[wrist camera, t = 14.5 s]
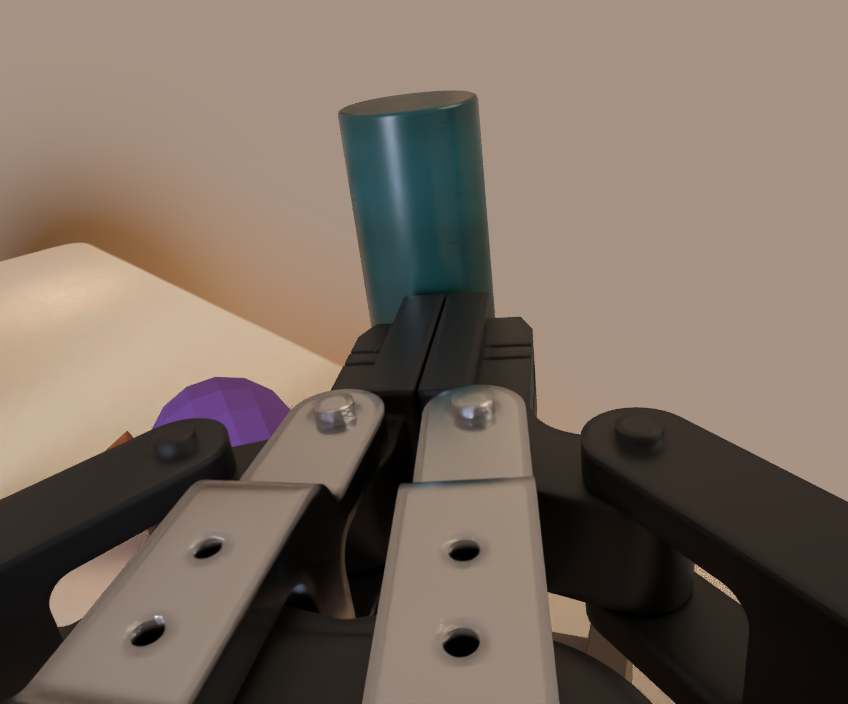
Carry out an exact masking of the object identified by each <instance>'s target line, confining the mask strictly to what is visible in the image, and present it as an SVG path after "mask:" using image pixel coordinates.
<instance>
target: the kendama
mask: <svg viewBox="0 0 848 704" xmlns="http://www.w3.org/2000/svg"><path fill="white" fill-rule="evenodd" d="M290 411H291V410H290V409H289V408H288V407H287V406H286V405H285V403H284V402H283V401H282V400H281V399H280V398H279V397H278V396H277V395H276V394H275V393H274V392H273V391H272V390H270V389H268V388H266V387H263V386H261V385H259V384H257V383H254V382H252V381H250V380H248V379H245V378H227V377H214V378H211V379H208V380H205V381H202V382H199V383H197V384H194V385H191V386H188V387H186V388H185V389H184V390H183V391H181V392H180V393H179V394H178V395H177V396H176V397H174V398H173V399H172V400H171V401H170V402H169V403H167V404H166V405H165V406H164V407H163V409H162V411H161V413H160V415H159V417H158V419H157V420H156V422H155V424H154V426H153V428H152V429H154V428H157V427H159V426H162V425H164V424H167V423H170V422H174V421H178V420H184V419H191V418H208V419H213V420H217V421H219V422H221V423H222V424H224V425H225V426H226V428H227V430H228V434H229V438H230V441H231V445H232V447H234V446H239V445H244V444H249V443H253V442H258V441H263V440H268V439H270V437H271V436H272V435H273V433H274V432H275V431H276V429H277V428H278V427H279V425H280V424H281V422H282V421H283V420H284V418H285V417H286V416H287V414H288V413H289V412H290ZM131 439H133V437H132V435H131V434H130V433H129V432H128V431H126V432H125V433H124V434H123V435H122V436H121V437H120V438H119V439H118V440H117V441H116V442H114V443H113V444H112V445H111V446H110V447H109V448H108V449H107V450H109V449H111V448H113V447H116V446H118V445H120V444H122V443H124V442H126V441H129V440H131ZM107 450H106V451H107ZM145 531H148V529H147V530H145Z"/></svg>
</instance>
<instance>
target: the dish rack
mask: <svg viewBox="0 0 848 704" xmlns="http://www.w3.org/2000/svg"><path fill="white" fill-rule="evenodd" d="M338 118H339V124H340V131H341V137H342V143H343V150H344V156H345V163H346V169H347V174H348V182H349V188H350V194H351V200H352V207H353V213H354V220H355V225H356V232H357V239H358V245H359V251H360V257H361V264H362V270H363V276H364V283H365V289H366V296H367V302H368V308H369V315H370V321H371V327H373V326H375V325H376V324H388V323H393V321H394V318H395V316H396V314H397V312H398V310H399V307H400V305H401V303H402V301H403V298H404V297H405V296H417V295H435V294H446V295H447V296H448V294H451V293H469V292H487V291H490V294H491V299H492V307H493V318H495V310H494V297H493V284H492V271H491V260H490V246H489V233H488V221H487V208H486V196H485V183H484V170H483V158H482V145H481V132H480V119H479V107H478V98H477V96H476V94H474V93H471V92H467V91H433V92H421V93H411V94H404V95H396V96H389V97H383V98H378V99H372V100H368V101H363V102H359V103H355V104H353V105H349V106H347V107H344V108H343V109H341V110H340V111H339V113H338ZM552 639H553V640H554V641H557V642H560V643H563V644H565V645H568V646H571V647H574V648H576V649H578V650H580V651H582V652H584V653H586V654H588V655H590V656H592V657H594V658H596V659H597V660H599V661H601V662H602V663H604V664H605V665H607V666H609V667H610V668H612V669H613V670H615V671H616V672H617V673H619V674H620V675H621V676H622V677H624V678H625V679H626V680H627V681H629V682H630V683H631V684H632V677H633V664H632V663H631V662H630V661H629V660H628V659H627V658H626V657H625V656H624V655H623V654H622V653H620V652H619V651H618V650H617V649H616V648H615V647H614V646H613V645H612V644H611V643H610V642H608V641H607V640H606V639H605V638H604V637H603V636H602V635H601V634H600V633H599V632H598V631H597V630H596V629H595V628H594V627H593V625H592V624H591V625H590V630H589V635H588V638H584V637H578V636H573V635H567V634H561V633H555V632H552Z"/></svg>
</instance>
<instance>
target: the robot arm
mask: <svg viewBox="0 0 848 704" xmlns="http://www.w3.org/2000/svg"><path fill="white" fill-rule="evenodd" d="M147 529H148V531H149V534H150V536H149V538H148V539H147V540H146V541H145V543H144V544H143V545H142V546H141V547H140V549H139V550H138V551H137V552H136V554H135V555H134V556H133V557H132V558H131V560H130V561H129V562H128V563H127V565H126V566H125V567H124V568H123V569H122V571H121V572H120V573H119V574H118V576H117V577H116V578H115V579H114V580H113V582H112V583H111V584H110V585H109V586H108V588H107V589H106V590H105V591H104V593H103V594H102V595H101V596H100V597H99V599H98V600H97V601H96V602H95V604H94V605H93V606H92V607H91V608H90V610H89V611H88V612H87V613H86V615H85V616H84V617H83V618H82V619H80V620H78V621H77V622H75V623H73V624H71V625H68V626H64V627H57V625H56V622H55V620H54V618H53V616H52V613H51V611H50V607H49V600H50V596H51V593H52V590H53V589H54V587H55V585H56V584H57V583H58V581H59V580H60V579H61V578H62V577H63V576H65V575H66V574H67V573H69V572H70V571H72V570H74V569H76V568H77V567H79V566H81V565H83V564H85V563H87V562H88V561H90V560H92V559H94V558H96V557H98V556H99V555H101V554H103V553H105V552H107V551H108V550H110V549H112V548H114V547H116V546H118V545H119V544H121V543H123V542H125V541H127V540H129V539H130V538H132V537H134V536H136V535H138V534H140V533H141V532H143V531H145V530H147ZM694 564H696V565H698V566H699V567H701V568H702V569H704V570H705V571H706V572H708V573H709V574H711V575H712V576H714V577H715V578H716V579H718V580H719V581H721V582H722V583H723V584H724V585H726V586H727V587H728V588H729V589H730V590H731V591H732V592H733V594H734V595H735V596H736V597H737V599H738V600H739V602H740V603H741V605H740V604H739V603H738V602H736V601H735V600H733V599H732V598H731V597H729V596H728V595H726V594H725V593H724V592H722V591H721V590H719V589H718V588H717V587H715V586H714V585H712V584H711V583H710V582H708V581H707V580H705V579H704V578H703V577H701V576H700V575H698V574H697V573H696V572H694ZM547 592H550V593H553V594H557V595H561V596H564V597H568V598H571V599H575V600H579V601H582V602H586V613H587V616H588V619H589V621H590V622H591V624H592V625H593V627H594V628H595V629H596V630H597V631H598V632H599V633H600V634H601V635H602V636H603V637H604V638H605V639H606V640H607V641H608V642H610V643H611V644H612V645H613V646H614V647H615V648H616V649H617V650H618V651H619V652H620V653H622V654H623V655H624V656H625V657H626V658H627V659H628V660H629V661H630V662H631V663H632V664H633V665H635V666H636V667H637V668H638V669H639V670H640V671H641V672H642V673H643V674H644V675H645V676H647V677H648V678H649V679H650V680H651V681H652V682H653V683H654V684H655V685H656V686H657V687H658V688H660V689H661V690H662V691H663V692H664V693H665V694H666V695H667V696H668V697H669V698H670V699H672V700H673V701H674V702H675V703H676V704H848V502H847V501H845V500H843V499H841V498H839V497H837V496H835V495H833V494H831V493H829V492H827V491H825V490H823V489H821V488H819V487H817V486H815V485H813V484H812V483H809V482H808V481H806V480H804V479H802V478H800V477H798V476H796V475H794V474H792V473H790V472H788V471H786V470H784V469H782V468H780V467H778V466H776V465H774V464H772V463H770V462H768V461H766V460H764V459H762V458H760V457H758V456H756V455H754V454H753V453H751V452H749V451H747V450H745V449H743V448H741V447H739V446H737V445H735V444H733V443H731V442H729V441H727V440H725V439H723V438H721V437H719V436H717V435H715V434H713V433H711V432H709V431H707V430H705V429H703V428H701V427H699V426H697V425H695V424H693V423H691V422H690V421H688V420H686V419H684V418H682V417H680V416H677V415H675V414H672V413H669V412H666V411H662V410H657V409H650V408H637V407H636V408H635V407H634V408H622V409H615V410H611V411H608V412H605V413H602V414H599V415H598V416H596V417H594V418H592V419H591V420H590V421H588V422H587V423H586V425H585V426H584V427H583V429H582V431H581V435H579V434H573V433H568V432H564V431H561V430H558V429H555V428H552V427H550V426H548V425H546V424H544V423H543V422H541V421H540V420H539V419H537V399H536V382H535V365H534V349H533V331H532V328H531V327H530V326H529V325H528V324H527V323H526V322H525V321H524V320H523V319H522V318H521V317H508V318H493V307H492V299H491V294H490V291H487V292H469V293H451V294H448V296H447V295H446V294H435V295H417V296H405V297H404V298H403V301H402V303H401V305H400V307H399V310H398V312H397V314H396V316H395V318H394V321H393V323H388V324H376V325H375V326H373V327H372V328H371V329H369V330H368V331H366V332H365V333H364V334H362V335H361V336H360V337H358V340H357V341H356V343H355V345H354V347H353V349H352V351H351V354H350V355H349V356H348V358H347V360H346V363H345V366H343V368H342V370H341V372H340V374H339V375H338V377H337V379H336V381H335V383H334V385H333V387H332V389H331V391H328V392H324V393H320V394H317V395H315V396H312V397H310V398H308V399H305V400H303V401H302V402H300V403H299V404H297V405H296V406H295V407H294V408H292V409H291V411H290V412H289V413H288V414H287V416H286V417H285V418H284V420H283V421H282V422H281V424H280V425H279V427H278V428H277V429H276V431H275V432H274V433H273V435H272V436H271V437H270V439H268V440H263V441H258V442H253V443H249V444H244V445H239V446H234V447H232V445H231V441H230V438H229V434H228V430H227V428H226V426H225V425H224V424H222V423H221V422H219V421H217V420H213V419H208V418H191V419H184V420H178V421H174V422H170V423H167V424H164V425H162V426H159V427H157V428H154V429H152V430H150V431H148V432H146V433H144V434H141V435H139V436H137V437H135V438H133V439H131V440H129V441H126V442H124V443H122V444H120V445H118V446H116V447H113V448H111V449H109V450H107V451H105V452H103V453H101V454H98V455H96V456H94V457H92V458H90V459H88V460H85V461H83V462H81V463H79V464H77V465H75V466H73V467H70V468H68V469H66V470H64V471H62V472H60V473H57V474H55V475H53V476H51V477H49V478H47V479H44V480H42V481H40V482H38V483H36V484H34V485H32V486H29V487H27V488H25V489H23V490H21V491H19V492H16V493H14V494H12V495H10V496H8V497H6V498H4V499H1V500H0V704H652V703H651V702H650V701H649V700H648V699H647V698H646V697H645V696H644V695H643V694H642V693H641V692H640V691H639V690H638V689H637V688H636V687H635V686H634V685H633V684H631V683H630V682H629V681H627V680H626V679H625V678H624V677H622V676H621V675H620V674H619V673H617V672H616V671H615V670H613V669H612V668H610V667H609V666H607V665H605V664H604V663H602V662H601V661H599V660H597V659H596V658H594V657H592V656H590V655H588V654H586V653H584V652H582V651H580V650H578V649H576V648H574V647H571V646H568V645H565V644H563V643H560V642H557V641H554V640H553V639H552V630H551V621H550V611H549V602H548V593H547Z"/></svg>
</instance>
